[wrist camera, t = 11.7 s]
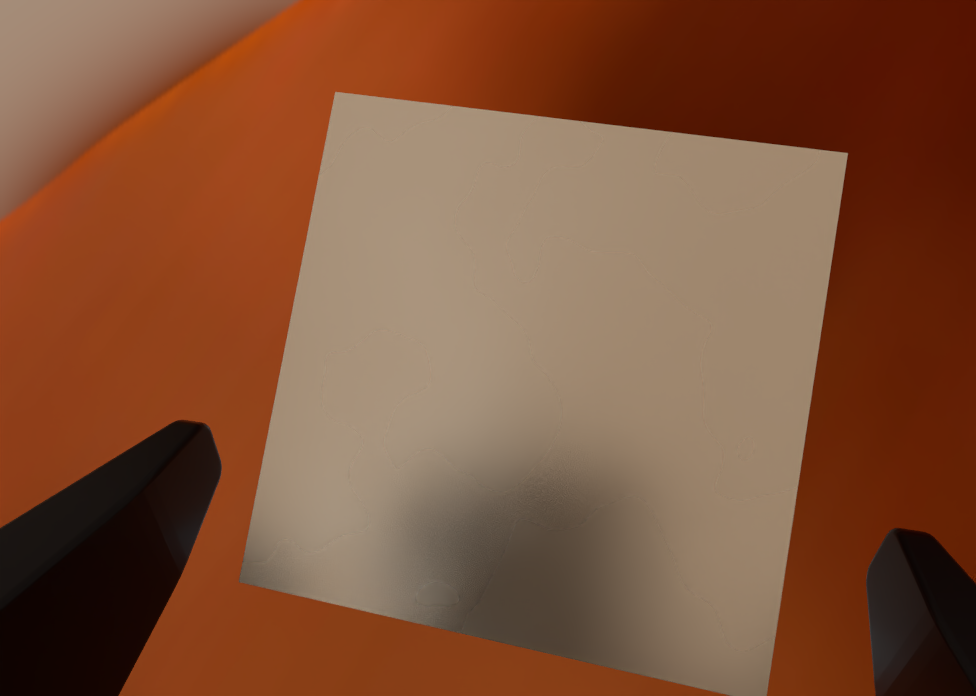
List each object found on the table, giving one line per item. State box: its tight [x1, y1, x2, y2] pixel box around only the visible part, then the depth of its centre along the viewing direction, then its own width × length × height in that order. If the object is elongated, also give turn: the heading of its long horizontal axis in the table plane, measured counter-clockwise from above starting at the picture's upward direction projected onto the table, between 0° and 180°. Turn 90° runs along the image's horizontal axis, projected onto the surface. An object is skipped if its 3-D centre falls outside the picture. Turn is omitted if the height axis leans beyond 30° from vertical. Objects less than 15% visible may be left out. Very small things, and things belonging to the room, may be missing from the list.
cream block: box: [239, 92, 848, 696], centre depth 15 cm, size 6×6×12 cm
